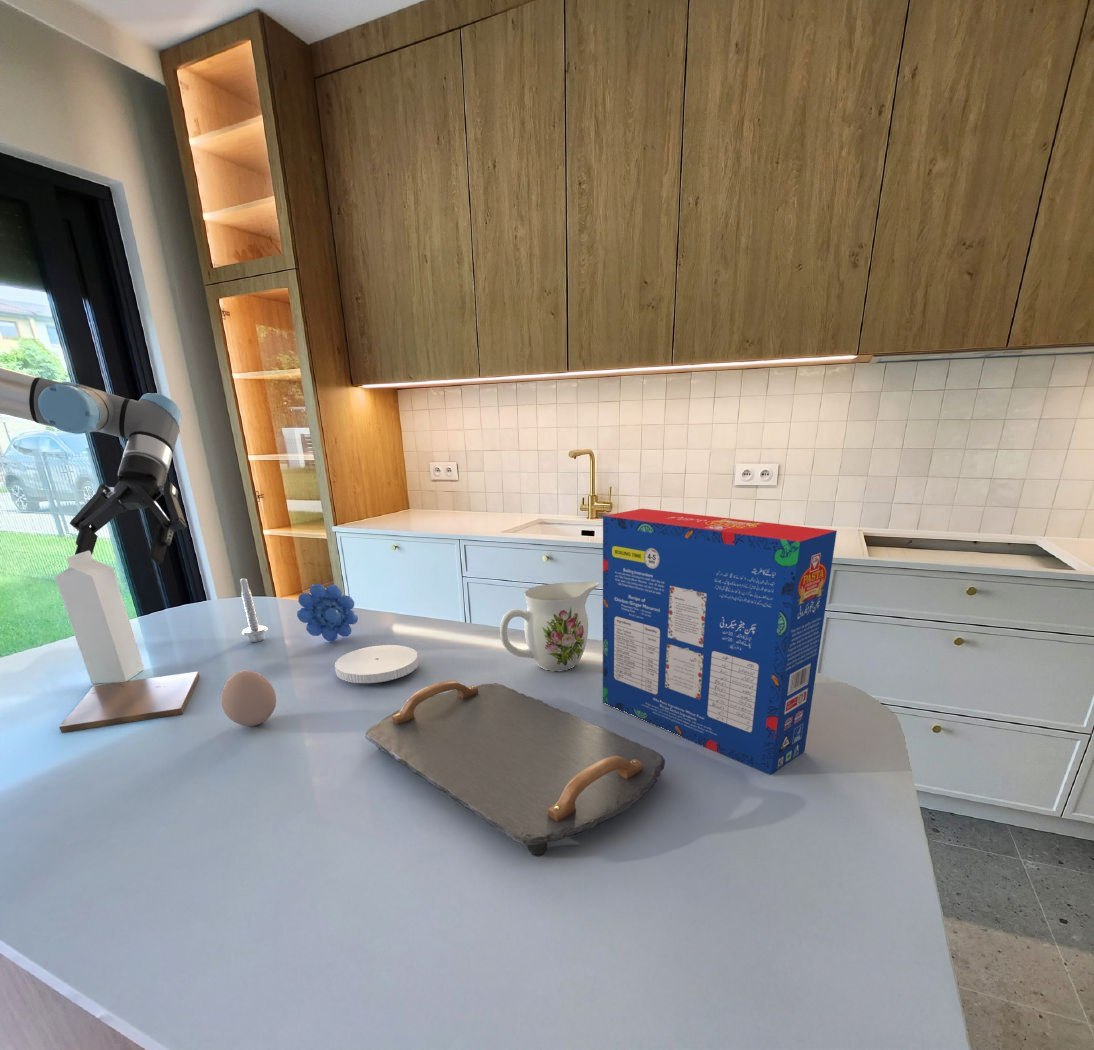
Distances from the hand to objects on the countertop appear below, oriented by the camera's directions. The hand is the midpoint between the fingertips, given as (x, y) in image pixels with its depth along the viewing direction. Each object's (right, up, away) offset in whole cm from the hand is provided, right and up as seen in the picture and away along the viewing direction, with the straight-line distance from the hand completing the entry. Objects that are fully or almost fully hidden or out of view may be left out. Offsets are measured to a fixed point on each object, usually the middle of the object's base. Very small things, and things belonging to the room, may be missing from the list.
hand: (118, 561), depth 111 cm
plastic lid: (+48, -20, -3) cm, 52 cm away
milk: (0, -21, 0) cm, 21 cm away
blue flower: (+34, -14, +13) cm, 39 cm away
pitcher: (+78, -19, -2) cm, 80 cm away
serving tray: (+72, -32, -32) cm, 85 cm away
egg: (+34, -28, -19) cm, 48 cm away
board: (+11, -25, -11) cm, 29 cm away
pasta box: (+98, -28, -25) cm, 104 cm away
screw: (+18, -13, +16) cm, 27 cm away
